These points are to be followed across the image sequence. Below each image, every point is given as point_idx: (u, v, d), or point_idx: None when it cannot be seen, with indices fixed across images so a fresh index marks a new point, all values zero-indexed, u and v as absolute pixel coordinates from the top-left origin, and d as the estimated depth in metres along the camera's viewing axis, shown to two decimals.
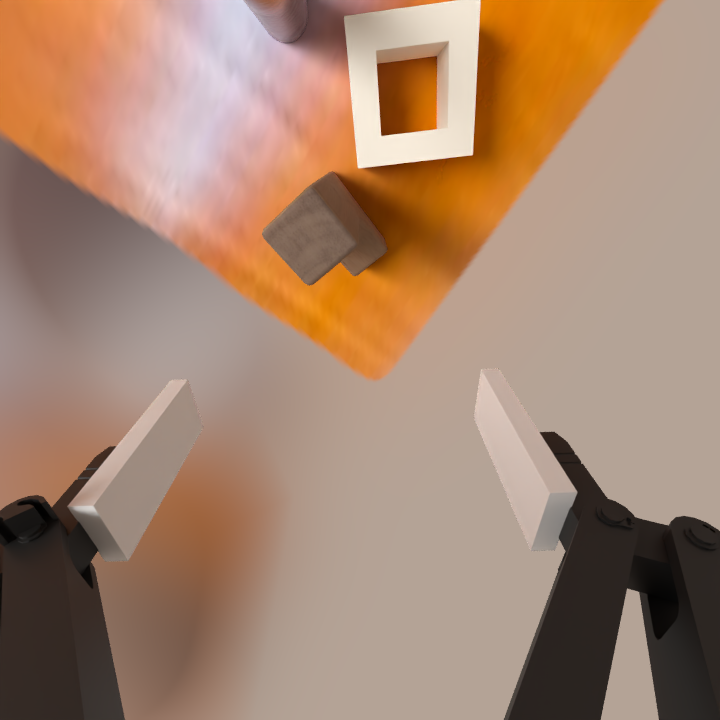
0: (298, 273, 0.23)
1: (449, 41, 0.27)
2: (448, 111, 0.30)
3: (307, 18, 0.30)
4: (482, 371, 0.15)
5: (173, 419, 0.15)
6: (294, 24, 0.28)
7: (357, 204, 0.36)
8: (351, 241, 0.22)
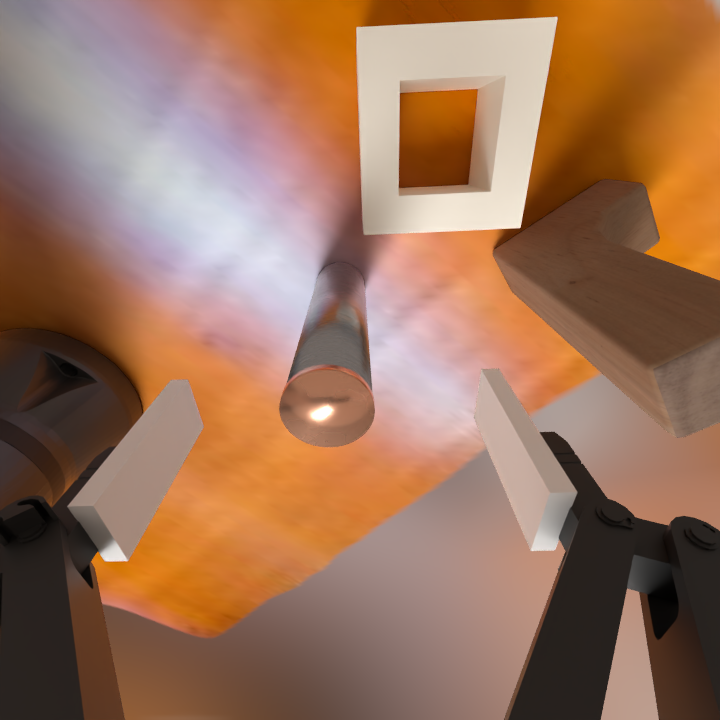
0: None
1: (399, 80, 0.19)
2: (483, 75, 0.19)
3: (347, 263, 0.29)
4: (482, 371, 0.15)
5: (173, 419, 0.15)
6: (360, 285, 0.26)
7: (546, 222, 0.26)
8: None
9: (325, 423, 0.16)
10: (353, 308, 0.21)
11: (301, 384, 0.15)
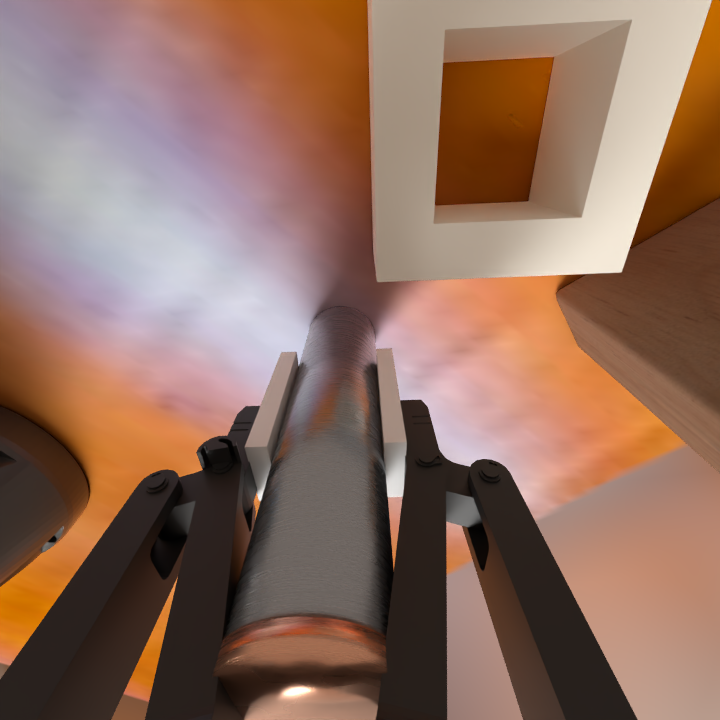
0: None
1: (443, 30, 0.11)
2: (592, 20, 0.11)
3: (350, 308, 0.21)
4: (376, 350, 0.17)
5: (292, 385, 0.16)
6: (370, 346, 0.18)
7: (642, 257, 0.18)
8: None
9: (304, 710, 0.08)
10: (360, 405, 0.13)
11: (248, 669, 0.07)
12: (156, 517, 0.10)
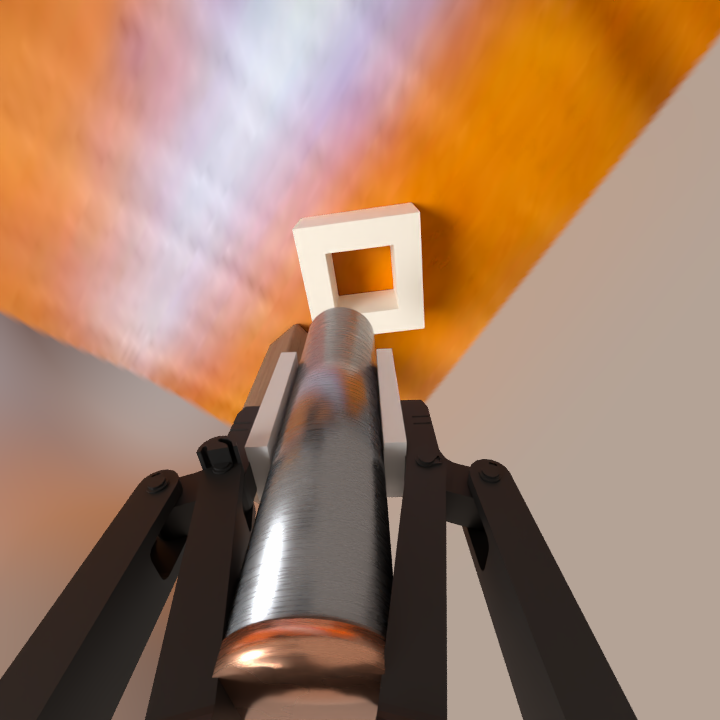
0: None
1: (393, 244, 0.29)
2: (398, 296, 0.31)
3: (350, 309, 0.21)
4: (376, 350, 0.17)
5: (292, 385, 0.16)
6: (369, 347, 0.18)
7: None
8: None
9: (302, 712, 0.08)
10: (359, 406, 0.13)
11: (247, 670, 0.07)
12: (156, 517, 0.10)
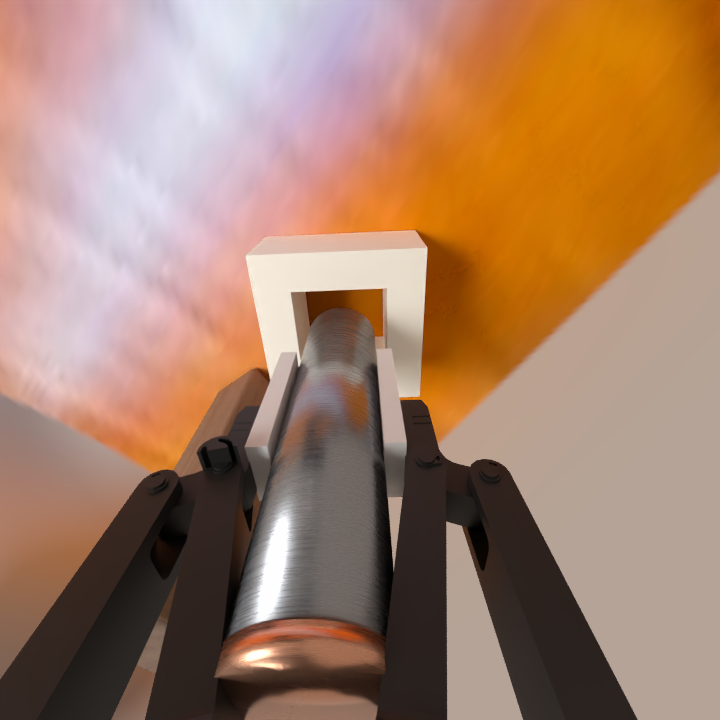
0: (139, 666, 0.16)
1: (387, 287, 0.21)
2: None
3: (350, 309, 0.21)
4: (376, 350, 0.17)
5: (292, 385, 0.16)
6: (370, 347, 0.18)
7: None
8: None
9: (304, 712, 0.08)
10: (360, 407, 0.13)
11: (249, 671, 0.07)
12: (156, 517, 0.10)
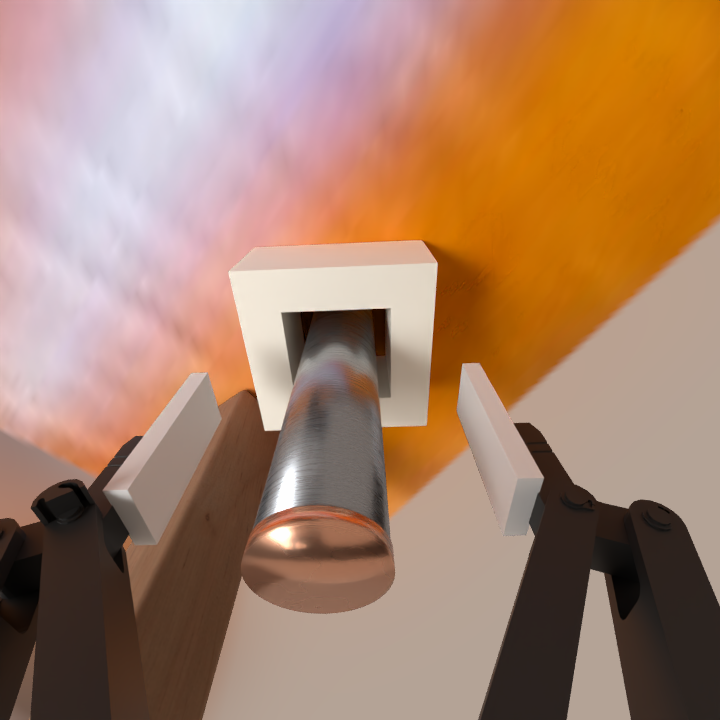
0: None
1: (391, 306, 0.18)
2: (391, 380, 0.20)
3: None
4: (463, 365, 0.16)
5: (195, 410, 0.15)
6: (368, 325, 0.20)
7: (277, 433, 0.27)
8: None
9: (315, 587, 0.10)
10: (359, 369, 0.15)
11: (275, 542, 0.09)
12: None
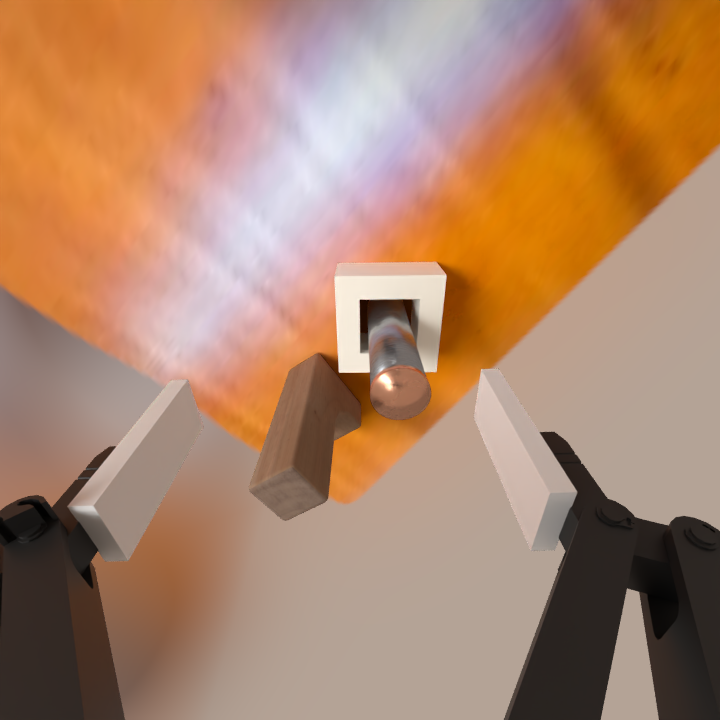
0: (276, 513, 0.28)
1: (420, 298, 0.33)
2: (417, 342, 0.35)
3: None
4: (482, 371, 0.15)
5: (173, 419, 0.15)
6: (405, 310, 0.35)
7: (338, 382, 0.41)
8: (321, 499, 0.27)
9: (398, 403, 0.24)
10: (406, 327, 0.30)
11: (387, 377, 0.24)
12: None
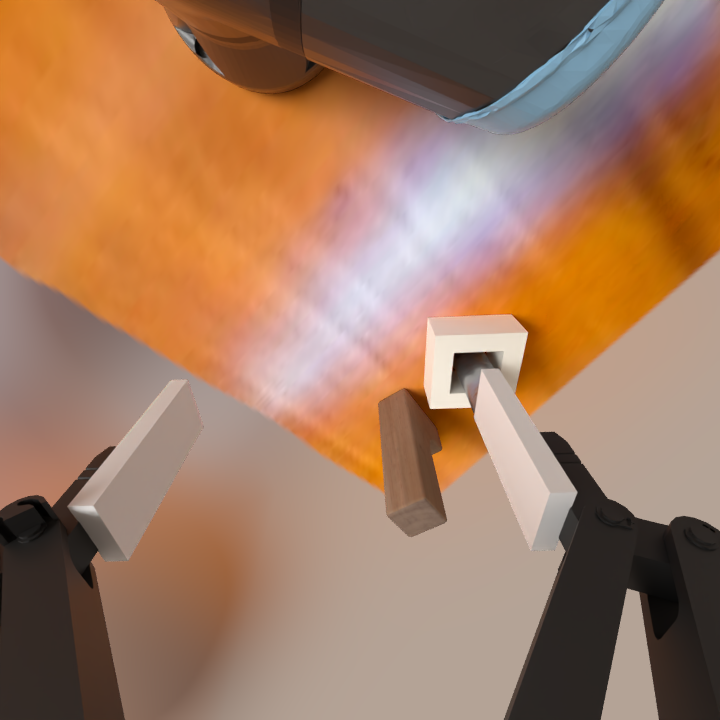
0: (405, 532, 0.36)
1: (504, 350, 0.40)
2: None
3: None
4: (482, 371, 0.15)
5: (173, 419, 0.15)
6: (487, 357, 0.42)
7: (421, 412, 0.49)
8: (443, 520, 0.35)
9: None
10: None
11: None
12: None
